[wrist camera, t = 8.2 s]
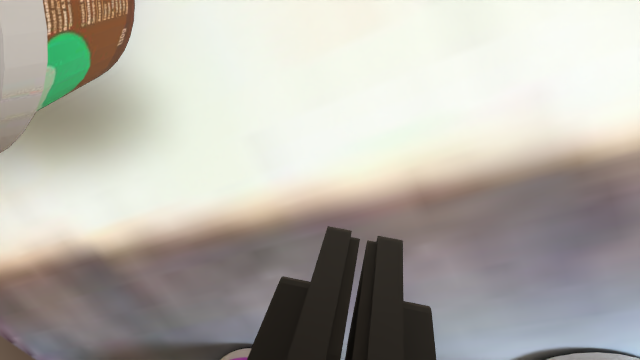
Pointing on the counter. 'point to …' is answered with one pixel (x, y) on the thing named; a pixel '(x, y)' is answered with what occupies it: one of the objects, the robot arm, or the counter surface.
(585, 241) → the counter surface
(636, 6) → the counter surface
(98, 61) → the food container
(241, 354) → the supplement bottle
